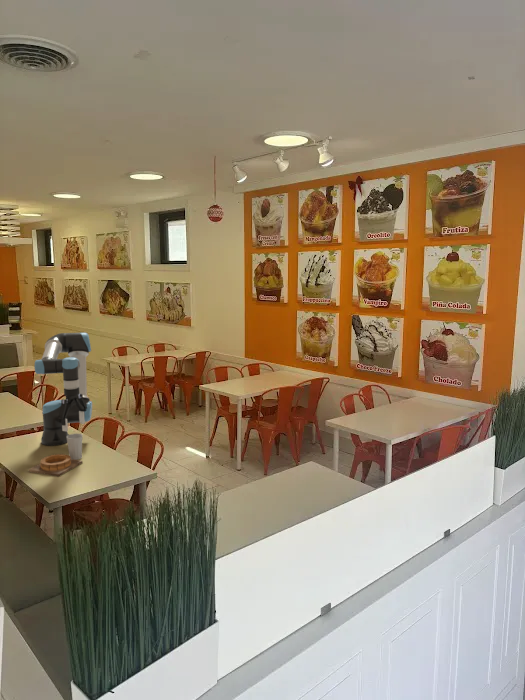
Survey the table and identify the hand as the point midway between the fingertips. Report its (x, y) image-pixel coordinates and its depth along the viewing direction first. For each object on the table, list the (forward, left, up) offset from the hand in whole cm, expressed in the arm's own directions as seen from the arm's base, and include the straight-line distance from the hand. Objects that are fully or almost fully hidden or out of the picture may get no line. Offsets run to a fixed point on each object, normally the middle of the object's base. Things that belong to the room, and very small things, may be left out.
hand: (73, 427), depth 276 cm
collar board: (+14, -1, -17) cm, 22 cm away
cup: (0, 0, -17) cm, 17 cm away
